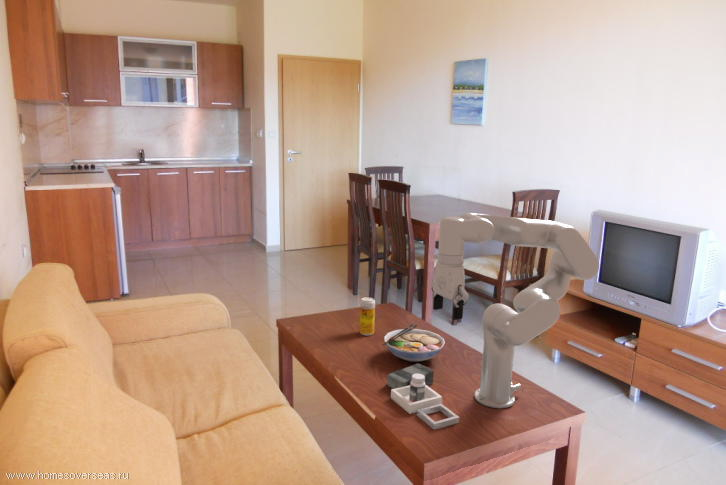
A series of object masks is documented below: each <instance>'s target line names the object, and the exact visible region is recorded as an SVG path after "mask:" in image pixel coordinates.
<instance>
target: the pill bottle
mask: <svg viewBox="0 0 726 485" xmlns="http://www.w3.org/2000/svg"><path fill="white" fill-rule="evenodd" d="M424 381H425V376H424V375H422V374H413V375H412V380H411V382H410V396H409V400H410V401H411V402H412V403H413V402H417V401H421V400H424V397H425V382H424Z"/></svg>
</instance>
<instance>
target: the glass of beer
mask: <svg viewBox="0 0 726 485" xmlns="http://www.w3.org/2000/svg"><path fill="white" fill-rule="evenodd" d="M359 304H360V308H359V333H360V334H361V335H362V336H367V337H368V336H372V335H373V334H374V333H375V318H376V313H375V312H376V300H375V298H373V297H369V296H366V297H362V298H361V300H360V303H359Z"/></svg>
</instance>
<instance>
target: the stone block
mask: <svg viewBox="0 0 726 485" xmlns="http://www.w3.org/2000/svg"><path fill="white" fill-rule="evenodd" d="M434 372H435V370H434V369H432V368H430V367H428V366H425V365H423V364H421V363H417V362H416V363H415V364H412V365H410V366H407V367H405V368H402V369H400V368H399V369H398V370H396V371H393V372H390V373H388V374H387V377H386V382H387V387H389V388H390V389H391V390H392V389H396V388H400V387H404V386H408V385H410V382H411V380H412V375H413V374H422V375H424V376H425V381H424V382H425V385H427V386H430V385H433V384H434V374H435V373H434Z"/></svg>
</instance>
